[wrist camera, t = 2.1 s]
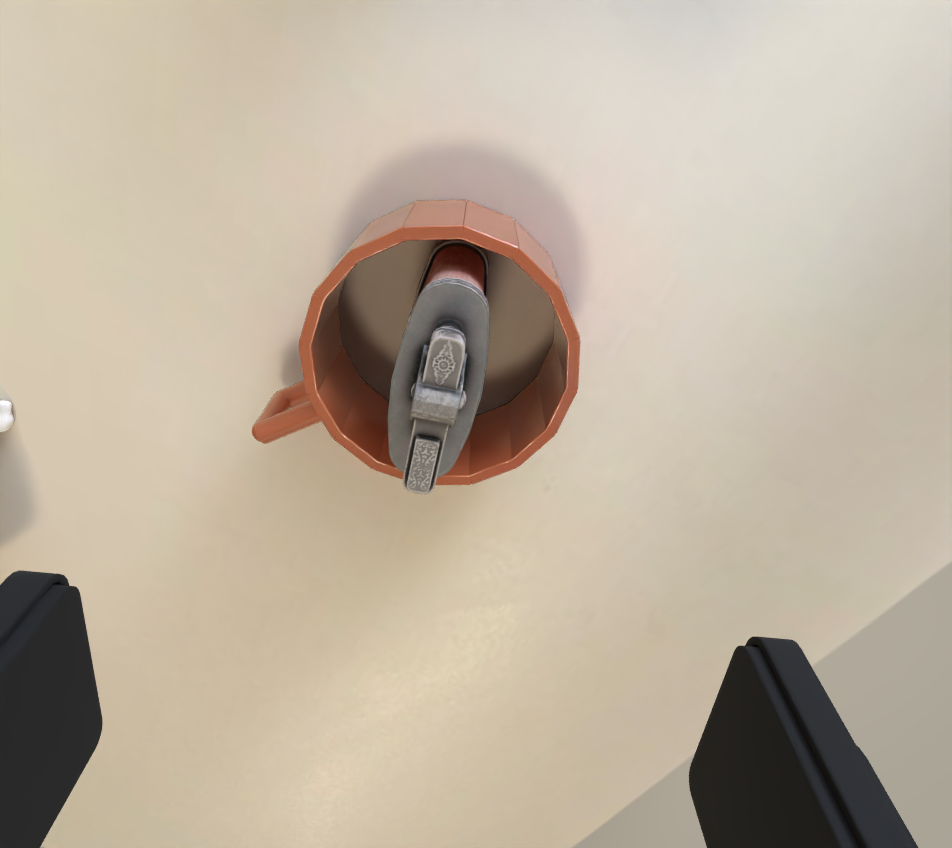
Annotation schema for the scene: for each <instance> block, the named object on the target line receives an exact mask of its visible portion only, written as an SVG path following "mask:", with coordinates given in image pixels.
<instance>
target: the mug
mask: <svg viewBox="0 0 952 848" xmlns="http://www.w3.org/2000/svg"><path fill="white" fill-rule="evenodd" d="M452 239H462V240H464V241H467V242H469V243H472V244H474V245H477V246H479V247H482V248H485V249H487V250H490V251H492V252H495V253H497V254H500V255H502V256H505V257H507V258H510V259H512V260H513V261H514V262H515V263H516V264H517V265H518V266H519V267H520V268H521V269H522V270H523V271H524V272H525V273H526V274H527V275H528V276H529V277H530V278H531V279H532V280H533V281H535V282H536V283H537V284H538V285H539V286H540V287H541V288H542V289H543V290H544V291H545V292H546V293H547V294H548V295H549V297H550V299H551V302H552V304H553V307H554V309H555V316H554V342H553V344H552V346H551V348H550V350H549V352H548V354H547V357H546V359H545V361H544V363H543V365H542V367H541V369H540V372H539V374H538V376H537V378H535V379H534V380H533V381H532V382H531V383H530V384H529V385H528V386H527V387H526V388H525V389H524V390H522V391H521V392H520V393H519V394H518V395H517V396H516V397H515V398H514V399H513V400H512V401H510V402H509V403H508V404H506V405H504V406H501V407H499V408H496V409H493V410H491V411H488V412H486V413H483V414H481V415H478V416H475V418H474V421H473V424H472V427H471V430H470V433H469V435H468V437H467V440H466V442H465V444H464V446H463V448H462V450H461V452H460V454H459V456H458V458H457V460H456V462H455V464H454V466H453V467H452V468H451V470H450V471H449V472H448V473H446V474H444V475H443V476H441V477H438V478H437V479H436V484H435V485H470V484H474V483H477V482H480V481H483V480H485V479H488V478H491V477H493V476H496V475H499V474H501V473H504V472H507V471H510V470H512V469H515V468H517V466H518V467H519V466H520V465H521V464H522V463H524V462H525V461H526V460H527V459H528V458H529V457H531V456H532V455H533V454H534V453H535V452H536V451H537V450H539V449H540V448H541V447H542V446H543V445H544V444H545V443H547V442H548V441H549V440H550V439H551V438H552V437H554V435H555V434H556V433H557V431H558V429H559V427H560V425H561V423H562V421H563V419H564V417H565V415H566V413H567V411H568V409H569V407H570V405H571V403H572V401H573V399H574V397H575V395H576V393H577V389H578V378H579V357H580V336H579V333H578V330H577V328H576V325H575V322H574V319H573V316H572V313H571V311H570V308H569V305H568V302H567V299H566V296H565V294H564V291H563V289H562V286H561V284H560V281H559V279H558V276H557V273H556V271H555V268H554V266H553V263H552V261H551V258H550V256H549V255H548V252H547V251H546V250H545V249H544V248H543V247H542V246H541V245H540V244H539V243H538V242H537V241H536V240H535V239H534V238H533V237H532V236H531V235H530V234H529V233H528V232H527V231H526V230H525V229H524V228H523V227H522V226H521V225H520V224H519V223H518V222H517V221H516V220H513V218H511V217H508V216H506V215H503V214H501V213H498V212H496V211H493V210H491V209H488V208H486V207H483V206H481V205H478V204H476V203H474V202H471V201H469V200H467V201H466V200H433V201H416V202H412V203H410V204H408V205H406V206H404V207H402V208H400V209H397V210H395V211H393V212H391V213H389V214H387V215H385V216H382V217H380V218H378V219H376V220H374V221H372V222H371V223H369V225H368V226H367V227H366V228H365V229H364V230H363V232H362V233H361V234H360V235H359V236H358V237H357V238H356V240H355V241H354V242H353V243H352V244H351V245H350V247H349V248H348V249H347V250H346V251H345V252H344V253H343V255H342V256H341V257H340V258H339V260H338V261H337V262H336V264H335V265H334V266H333V267H332V269H331V270H330V271H329V273H328V274H327V275H326V277H325V278H324V279H323V281H322V282H321V283H320V285H319V286H318V287H317V288H316V290H315V291H314V293H313V295H312V298H311V302H310V305H309V309H308V312H307V316H306V319H305V323H304V326H303V330H302V333H301V337H300V340H299V351H300V357H301V364H302V371H303V377H304V380H303V381H301V382H298V383H296V384H294V385H291V386H289V387H287V388H284V389H282V390H280V391H277V392H276V393H275V394H274V395H273V396H272V398H271V399H270V401H269V402H268V404H267V405H266V407H265V408H264V410H263V411H262V413H261V415H260V416H259V418H258V419H257V421H256V422H255V424H254V425H253V427H252V434H253V436H254V438H255V439H256V440H258V441H260V442H262V443H264V444H267V443H270V442H272V441H275V440H277V439H280V438H282V437H285V436H287V435H289V434H292V433H294V432H297V431H299V430H302V429H304V428H307V427H309V426H312V425H314V424H316V423H319V422H321V421H322V422H323V423H324V425H325V427H326V428H327V430H328V432H329V433H330V435H331V436H332V437H334V438H333V439H334V440H335V441H337V442H338V443H339V444H341V445H342V446H343V447H344V448H346V449H347V450H348V451H350V452H351V453H352V454H353V455H355V456H356V457H357V458H359V459H360V460H361V461H363V462H364V463H365V464H366V465H368V466H369V467H370V468H372V469H374V470H376V471H379V472H382V473H385V474H388V475H391V476H394V477H397V478H400V479H403V476H404V473H403V472H401V471H400V470H398V469H397V468H396V466H395V465H394V464H393V462H392V461H391V458H390V454H389V436H388V410H389V402H388V401H387V400H386V399H385V398H383V397H382V396H381V395H380V394H378V393H377V392H376V391H375V390H374V389H372V388H371V387H370V386H369V385H368V384H366V383H365V382H364V381H363V380H362V379H361V377H360V375H359V374H358V372H357V370H356V368H355V366H354V365H353V363H352V361H351V359H350V358H349V356H348V354H347V352H346V350H345V349H344V347H343V345H342V338H341V329H340V321H339V313H338V301H339V298H340V294H341V291H342V288H343V284H344V281H345V278H346V276H347V274H348V273H349V272H350V271H351V270H352V269H353V268H354V266H355V265H356V264H357V263H358V262H360V261H362V260H364V259H366V258H369V257H371V256H373V255H375V254H378V253H380V252H382V251H384V250H386V249H389V248H391V247H393V246H395V245H397V244H400V243H402V242H404V241H406V240H452Z"/></svg>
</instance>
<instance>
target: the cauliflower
mask: <svg viewBox="0 0 952 848" xmlns="http://www.w3.org/2000/svg"><path fill="white" fill-rule="evenodd" d="M11 408H12V404H11V403H10V402H9V401H3V400H0V432H4V431H6V430H8V429H9V428H10V427H11V426H12V424H13V422H14V418H13V416H12V413H11Z"/></svg>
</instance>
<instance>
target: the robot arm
mask: <svg viewBox="0 0 952 848" xmlns="http://www.w3.org/2000/svg"><path fill="white" fill-rule="evenodd" d="M101 731H102V715H101V709H100V703H99V698H98V692H97V687H96V681H95V675H94V670H93V664H92V658H91V653H90V647H89V642H88V636H87V630H86V625H85V619H84V614H83V608H82V602H81V597H80V593H79V590H78V589H77V587H74V586H69V583H68V580H67V578H66V577H65V576H64V575H61V574H52V573H41V572H30V571H17V572H14V573H12V574H11V575H10V576H9V577H7V578H6V579H5V581H4V582H3V583H2V584H1V585H0V848H40V846H41V844H42V843H43V841H44V839H45V837H46V835H47V834H48V832H49V830H50V828H51V827H52V825H53V823H54V821H55V819H56V818H57V816H58V814H59V812H60V811H61V809H62V807H63V805H64V803H65V802H66V800H67V798H68V796H69V795H70V793H71V791H72V789H73V788H74V786H75V784H76V782H77V780H78V779H79V777H80V775H81V773H82V772H83V770H84V768H85V766H86V764H87V763H88V761H89V759H90V757H91V756H92V754H93V752H94V750H95V748H96V746H97V744H98V741H99V739H100V735H101ZM689 785H690V792H691V796H692V799H693V802H694V806H695V809H696V813H697V816H698V819H699V822H700V826H701V829H702V832H703V836H704V839H705V842H706V846H707V848H918V846H917V845H916V843H915V841H914V839H913V838H912V836H911V834H910V832H909V831H908V829H907V827H906V826H905V824H904V822H903V820H902V819H901V817H900V815H899V813H898V812H897V810H896V808H895V807H894V805H893V803H892V801H891V799H890V798H889V796H888V794H887V792H886V791H885V789H884V787H883V785H882V784H881V782H880V780H879V779H878V777H877V775H876V773H875V772H874V770H873V768H872V766H871V765H870V763H869V761H868V759H867V758H866V756H865V755H864V754H863V752H862V751H861V750H860V748H859V747H858V746H856V744H855V743H854V741H853V739H852V737H851V736H850V734H849V732H848V730H847V729H846V727H845V725H844V723H843V722H842V720H841V718H840V716H839V714H838V713H837V711H836V709H835V707H834V706H833V704H832V702H831V700H830V699H829V697H828V695H827V693H826V692H825V690H824V688H823V686H822V685H821V683H820V681H819V679H818V678H817V676H816V674H815V672H814V671H813V669H812V667H811V665H810V664H809V662H808V660H807V658H806V656H805V655H804V653H803V651H802V649H801V648H800V647H799V645H798V644H797V643H796V642H795V641H793V640H788V639H777V638H766V637H751V638H750V639H749V640H748V642H747V643H746V645H745V646H738V647H737V648H736V649H735V651H734V653H733V656H732V659H731V661H730V664H729V666H728V669H727V672H726V674H725V677H724V680H723V682H722V685H721V687H720V690H719V693H718V695H717V698H716V700H715V703H714V706H713V708H712V711H711V714H710V716H709V719H708V721H707V724H706V727H705V729H704V732H703V734H702V737H701V740H700V742H699V745H698V747H697V750H696V753H695V755H694V758H693V761H692V763H691V767H690V771H689Z"/></svg>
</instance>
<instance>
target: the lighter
mask: <svg viewBox="0 0 952 848" xmlns="http://www.w3.org/2000/svg"><path fill="white" fill-rule="evenodd" d="M488 274H489V263H488V257H487V254H486V253H485V251H484V249H483V248H482V247H479V246H477V245H474V244H472V243H469V242H467V241H464V240H462V239H452V240H442V241H441V242H439V243H438V244H437V245H436V246H435V248H434V249H433V250H432V252H431V255H430V257H429V260H428V263H427V265H426V268H425V270H424V273H423V275H422V278H421V280H420V283H419V286H418V289H417V293H416V297H415V301H414V305H413V308H412V312H411V313H410V316H409V319H408V322H407V326H406V329H405V331H404V334H403V337H402V341H401V345H400V349H399V352H398V356H397V360H396V364H395V368H394V372H393V375H392V380H391V390H390V400H389V410H388V436H389V454H390V458H391V461H392V462H393V464H394V465H395V466H396V468H397V469H398V470H400V471H401V472H403V473H404V476H403V486H404V488H405V489H406V490H408V491H410V492H413V493H418V494H428V493H430V492H431V491H433V489H434V487H435V484H436V479H437V478H438V477H441V476H443V475H444V474H446V473H448V472H449V471H450V470H451V468H452V467H453V466H454V464H455V462H456V460H457V458H458V456H459V454H460V452H461V450H462V448H463V446H464V444H465V442H466V440H467V437H468V435H469V433H470V430H471V427H472V424H473V421H474V418H475V415H476V412H477V409H478V406H479V403H480V400H481V396H482V390H483V384H484V378H485V372H486V366H487V360H488V339H489V307H488Z"/></svg>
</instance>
